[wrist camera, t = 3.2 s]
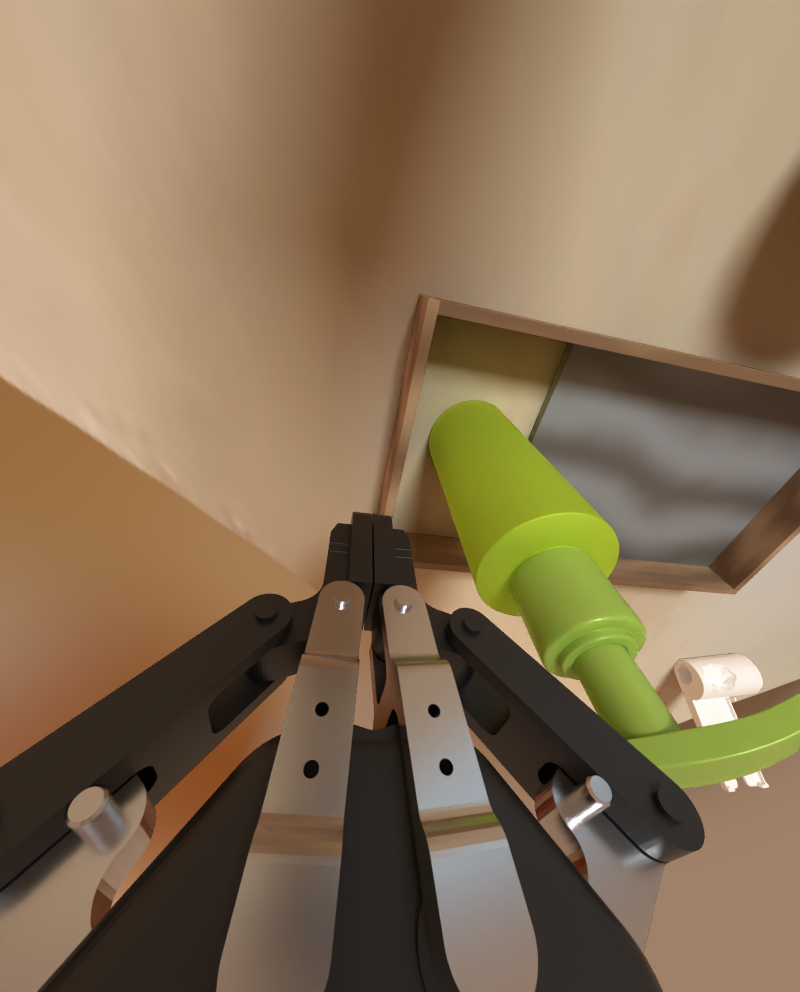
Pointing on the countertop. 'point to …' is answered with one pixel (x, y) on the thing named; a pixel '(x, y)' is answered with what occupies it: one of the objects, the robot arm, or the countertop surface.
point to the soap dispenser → (578, 596)
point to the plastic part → (718, 693)
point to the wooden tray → (645, 453)
